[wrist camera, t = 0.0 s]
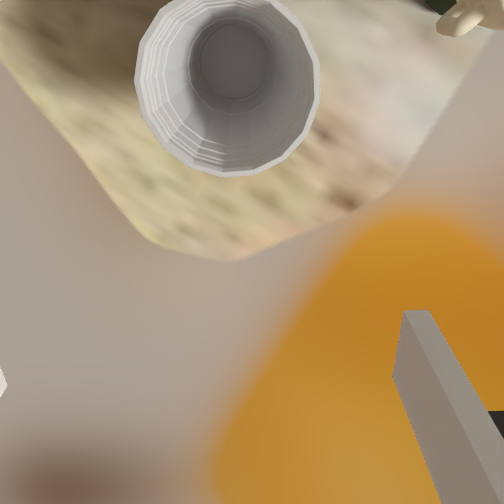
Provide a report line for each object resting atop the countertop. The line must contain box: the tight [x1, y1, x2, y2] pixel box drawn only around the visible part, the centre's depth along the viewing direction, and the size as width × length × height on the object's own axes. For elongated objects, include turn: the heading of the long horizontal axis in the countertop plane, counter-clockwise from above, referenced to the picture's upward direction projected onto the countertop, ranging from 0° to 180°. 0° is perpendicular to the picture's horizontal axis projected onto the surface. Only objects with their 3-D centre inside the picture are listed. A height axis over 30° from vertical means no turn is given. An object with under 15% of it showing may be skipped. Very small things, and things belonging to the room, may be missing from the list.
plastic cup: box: [134, 0, 321, 177], centre depth 31 cm, size 11×11×12 cm
